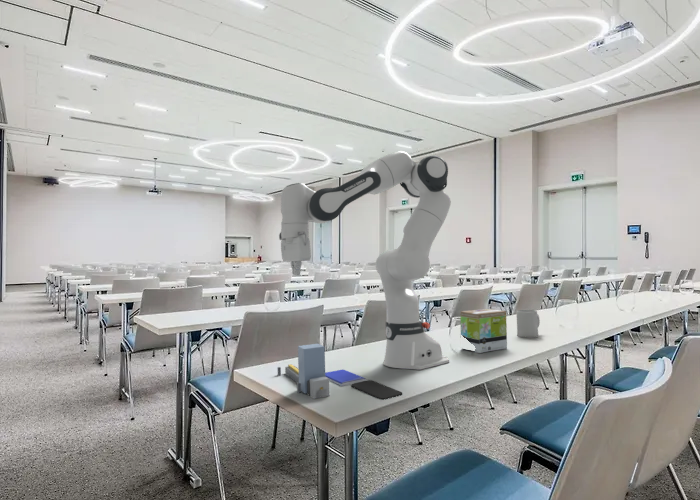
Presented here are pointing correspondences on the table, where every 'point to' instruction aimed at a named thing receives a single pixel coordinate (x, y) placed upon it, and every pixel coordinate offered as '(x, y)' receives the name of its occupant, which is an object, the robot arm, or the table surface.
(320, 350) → the pale blue block
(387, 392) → the phone
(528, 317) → the mug
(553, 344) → the table surface
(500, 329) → the tea box
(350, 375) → the hard drive
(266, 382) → the table surface
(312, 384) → the cord rail
